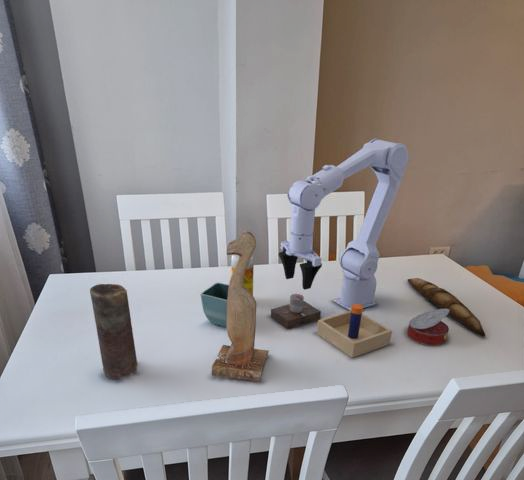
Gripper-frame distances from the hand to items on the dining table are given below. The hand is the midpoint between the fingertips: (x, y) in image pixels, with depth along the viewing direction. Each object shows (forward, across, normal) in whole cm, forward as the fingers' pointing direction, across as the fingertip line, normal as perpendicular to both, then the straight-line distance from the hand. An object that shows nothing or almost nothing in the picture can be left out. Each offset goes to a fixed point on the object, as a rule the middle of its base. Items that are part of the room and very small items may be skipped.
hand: (297, 283), depth 125 cm
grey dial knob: (+8, 0, 0) cm, 8 cm away
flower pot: (+11, -8, -18) cm, 22 cm away
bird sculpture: (+11, +13, -25) cm, 30 cm away
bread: (+11, +16, +41) cm, 46 cm away
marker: (+10, +16, +6) cm, 20 cm away
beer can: (+11, -15, -8) cm, 20 cm away
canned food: (+11, +25, +24) cm, 36 cm away
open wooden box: (+10, +16, +6) cm, 20 cm away
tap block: (+10, 0, 0) cm, 10 cm away
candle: (+11, +1, -49) cm, 50 cm away
